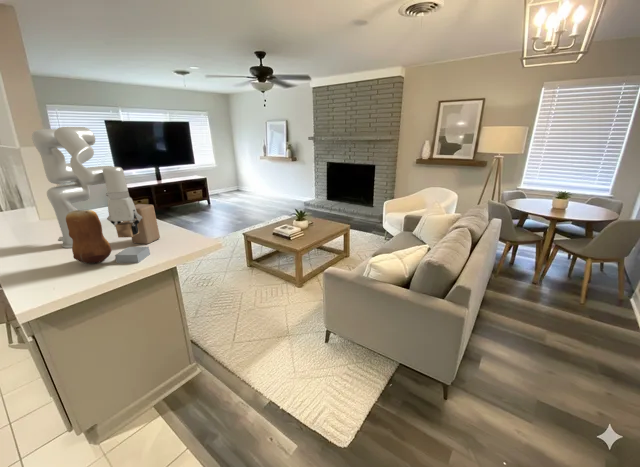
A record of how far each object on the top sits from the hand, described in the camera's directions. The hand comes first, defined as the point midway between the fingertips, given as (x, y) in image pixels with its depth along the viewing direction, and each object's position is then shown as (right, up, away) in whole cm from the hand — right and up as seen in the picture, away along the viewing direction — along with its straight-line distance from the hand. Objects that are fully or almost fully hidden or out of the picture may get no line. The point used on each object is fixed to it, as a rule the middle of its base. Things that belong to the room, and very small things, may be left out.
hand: (128, 233), depth 133 cm
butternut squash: (-16, -13, +1) cm, 21 cm away
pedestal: (0, -12, +4) cm, 13 cm away
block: (-8, -4, +27) cm, 28 cm away
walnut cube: (0, -1, 0) cm, 1 cm away
